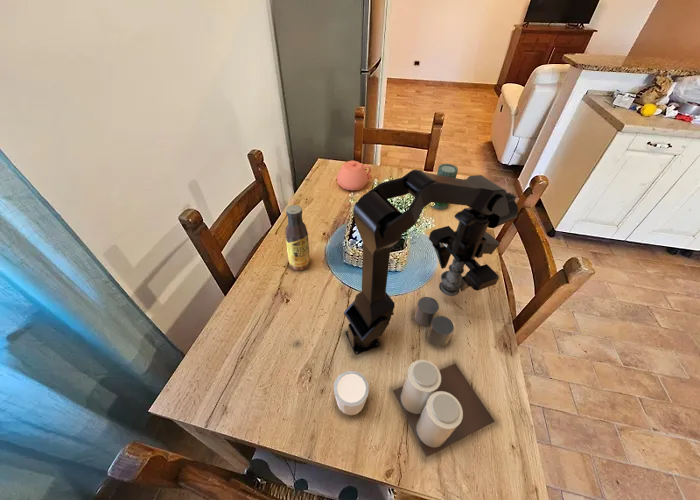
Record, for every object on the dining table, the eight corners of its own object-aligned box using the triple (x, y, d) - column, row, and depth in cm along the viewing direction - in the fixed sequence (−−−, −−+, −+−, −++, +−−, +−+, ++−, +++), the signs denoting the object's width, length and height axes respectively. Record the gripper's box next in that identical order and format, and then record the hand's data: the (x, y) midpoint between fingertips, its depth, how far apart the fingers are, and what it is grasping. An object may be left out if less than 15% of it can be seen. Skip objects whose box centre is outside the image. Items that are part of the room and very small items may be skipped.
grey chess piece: (464, 295, 79) (479, 262, 71) (443, 298, 78) (455, 266, 70) (454, 278, 83) (466, 245, 75) (434, 281, 82) (444, 248, 74)
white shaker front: (427, 453, 57) (441, 433, 49) (410, 420, 61) (420, 397, 53) (453, 439, 59) (471, 418, 50) (436, 408, 63) (450, 383, 54)
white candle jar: (335, 383, 66) (334, 369, 62) (367, 385, 66) (368, 370, 62) (333, 418, 62) (332, 405, 57) (367, 419, 61) (369, 407, 57)
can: (438, 211, 111) (447, 174, 101) (427, 202, 115) (435, 166, 105) (450, 206, 114) (461, 170, 103) (439, 198, 117) (448, 162, 107)
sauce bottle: (297, 274, 89) (288, 221, 75) (285, 263, 92) (274, 209, 78) (315, 264, 92) (310, 210, 78) (303, 253, 95) (296, 199, 81)
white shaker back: (409, 419, 61) (419, 395, 53) (395, 390, 65) (402, 364, 57) (435, 406, 63) (449, 382, 55) (419, 379, 67) (430, 353, 58)
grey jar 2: (434, 350, 72) (439, 337, 68) (422, 333, 76) (427, 319, 71) (452, 343, 74) (458, 330, 69) (440, 326, 77) (445, 312, 73)
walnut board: (425, 458, 57) (426, 457, 57) (392, 391, 66) (392, 390, 65) (494, 422, 61) (495, 421, 61) (454, 364, 70) (455, 363, 70)
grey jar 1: (420, 330, 76) (425, 316, 72) (410, 314, 80) (414, 300, 75) (437, 323, 78) (443, 309, 73) (426, 308, 81) (431, 294, 77)
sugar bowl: (335, 177, 127) (335, 154, 120) (369, 176, 128) (370, 153, 121) (338, 194, 118) (337, 170, 111) (374, 192, 120) (375, 168, 113)
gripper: (530, 250, 63) (503, 297, 74) (472, 201, 76) (456, 247, 86) (487, 265, 60) (465, 311, 71) (434, 211, 72) (422, 257, 83)
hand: (452, 279), depth 78 cm, fingers closed on grey chess piece, 8 cm apart
